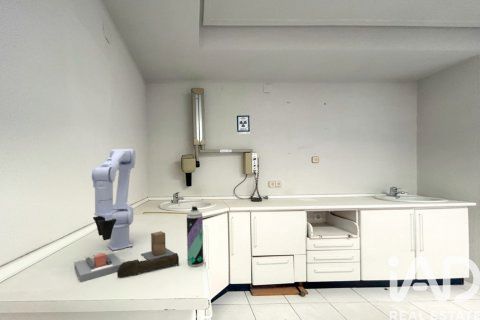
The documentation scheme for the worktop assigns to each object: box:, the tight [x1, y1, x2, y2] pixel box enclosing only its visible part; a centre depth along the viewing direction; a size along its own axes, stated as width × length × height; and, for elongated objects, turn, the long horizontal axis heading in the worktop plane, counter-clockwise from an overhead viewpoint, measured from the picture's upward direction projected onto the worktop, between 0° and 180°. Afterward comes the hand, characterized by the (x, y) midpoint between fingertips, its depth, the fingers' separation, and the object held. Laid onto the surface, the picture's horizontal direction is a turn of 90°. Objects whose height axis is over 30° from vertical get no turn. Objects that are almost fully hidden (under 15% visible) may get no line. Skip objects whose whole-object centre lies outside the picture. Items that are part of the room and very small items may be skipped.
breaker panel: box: [73, 252, 123, 283], centre depth 79 cm, size 14×12×3 cm
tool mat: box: [140, 247, 176, 260], centre depth 91 cm, size 10×10×1 cm
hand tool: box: [116, 252, 180, 278], centre depth 78 cm, size 19×4×5 cm, turn 118°
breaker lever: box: [93, 252, 107, 267], centre depth 78 cm, size 2×3×3 cm
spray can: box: [186, 205, 204, 268], centre depth 82 cm, size 6×6×20 cm
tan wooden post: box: [150, 230, 167, 256], centre depth 91 cm, size 4×4×8 cm
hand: (104, 237), depth 85 cm, fingers open, 7 cm apart
